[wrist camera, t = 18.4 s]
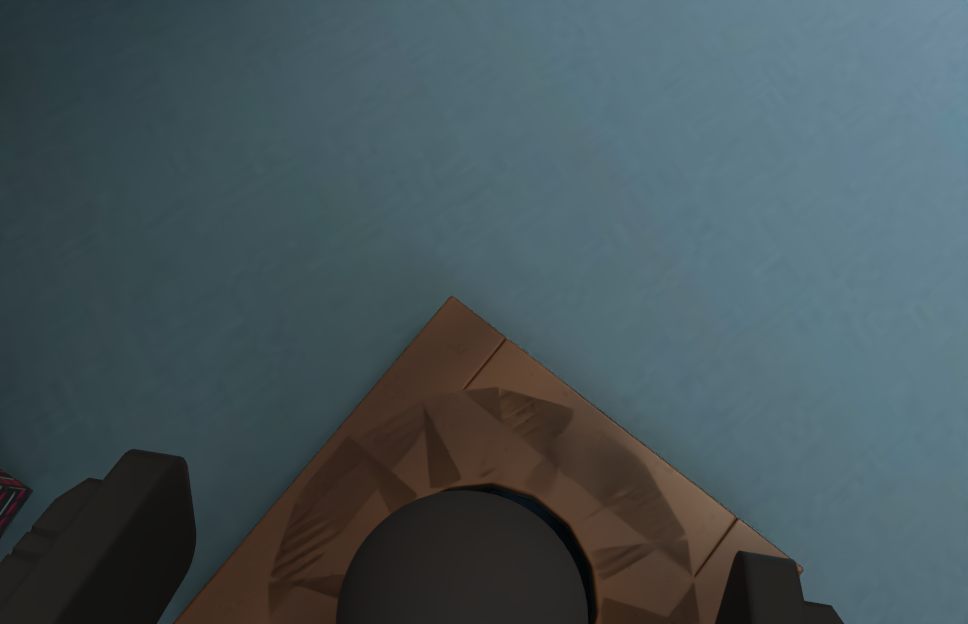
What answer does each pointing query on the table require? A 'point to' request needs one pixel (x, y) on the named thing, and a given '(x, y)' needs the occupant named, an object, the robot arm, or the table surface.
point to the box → (10, 499)
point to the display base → (484, 466)
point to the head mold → (462, 567)
